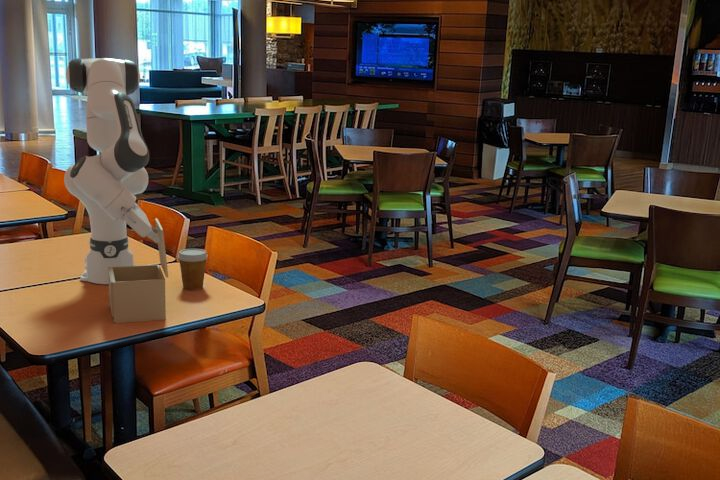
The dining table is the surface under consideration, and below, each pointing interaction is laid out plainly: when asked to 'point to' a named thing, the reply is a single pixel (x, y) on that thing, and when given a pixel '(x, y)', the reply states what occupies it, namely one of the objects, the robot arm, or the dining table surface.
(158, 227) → the lid flap
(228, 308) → the dining table surface
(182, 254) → the disposable coffee cup
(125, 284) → the carton
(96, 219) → the robot arm
